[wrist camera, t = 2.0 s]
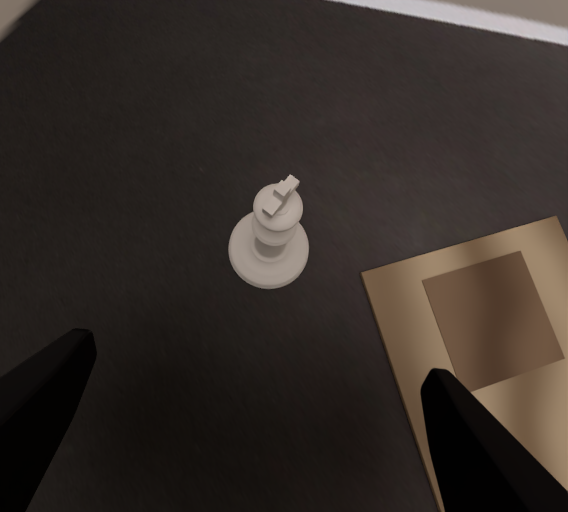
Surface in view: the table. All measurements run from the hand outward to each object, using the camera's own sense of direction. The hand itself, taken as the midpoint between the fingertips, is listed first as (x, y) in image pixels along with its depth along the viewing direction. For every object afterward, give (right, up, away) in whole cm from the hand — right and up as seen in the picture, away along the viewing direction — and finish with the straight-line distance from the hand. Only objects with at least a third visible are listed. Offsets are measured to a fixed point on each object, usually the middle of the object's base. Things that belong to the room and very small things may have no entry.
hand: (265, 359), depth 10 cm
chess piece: (0, +3, +13) cm, 13 cm away
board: (+14, -5, +12) cm, 20 cm away
